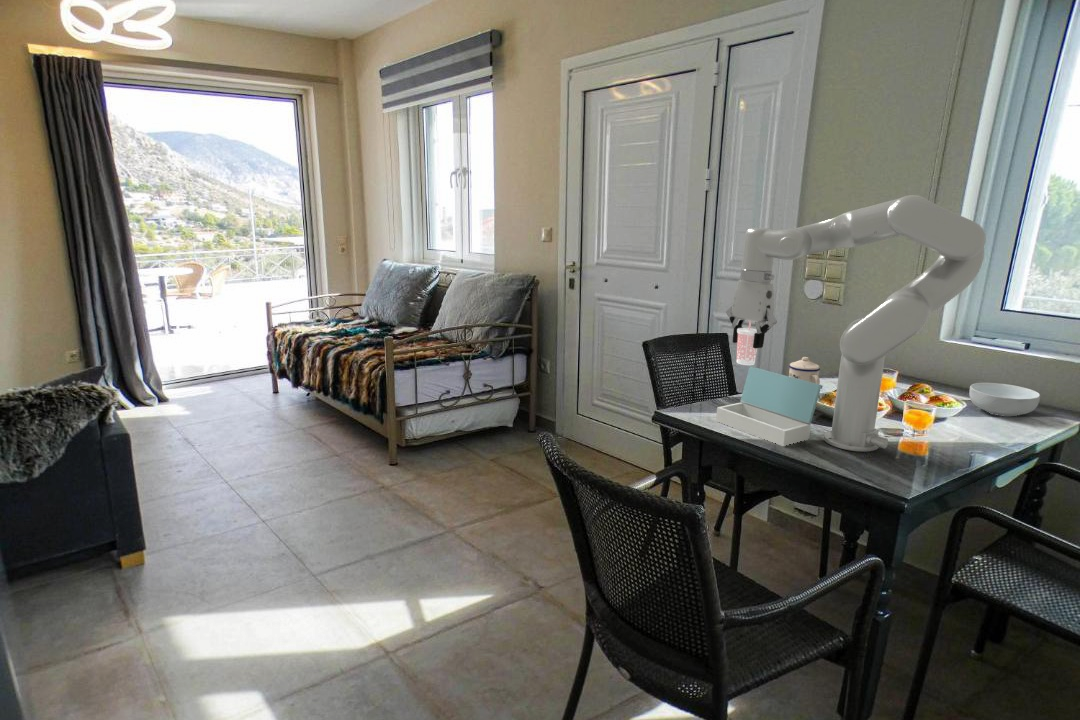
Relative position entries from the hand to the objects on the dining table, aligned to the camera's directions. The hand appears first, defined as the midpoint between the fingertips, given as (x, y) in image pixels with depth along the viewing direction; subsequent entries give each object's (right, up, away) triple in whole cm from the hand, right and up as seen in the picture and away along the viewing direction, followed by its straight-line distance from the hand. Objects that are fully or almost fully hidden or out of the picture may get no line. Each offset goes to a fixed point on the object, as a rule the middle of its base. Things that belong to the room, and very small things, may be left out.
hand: (747, 344), depth 170 cm
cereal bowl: (+80, -20, +18) cm, 84 cm away
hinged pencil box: (+4, -23, 0) cm, 23 cm away
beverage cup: (0, -5, +1) cm, 5 cm away
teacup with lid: (+29, -15, +34) cm, 48 cm away
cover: (+8, -13, +1) cm, 16 cm away
